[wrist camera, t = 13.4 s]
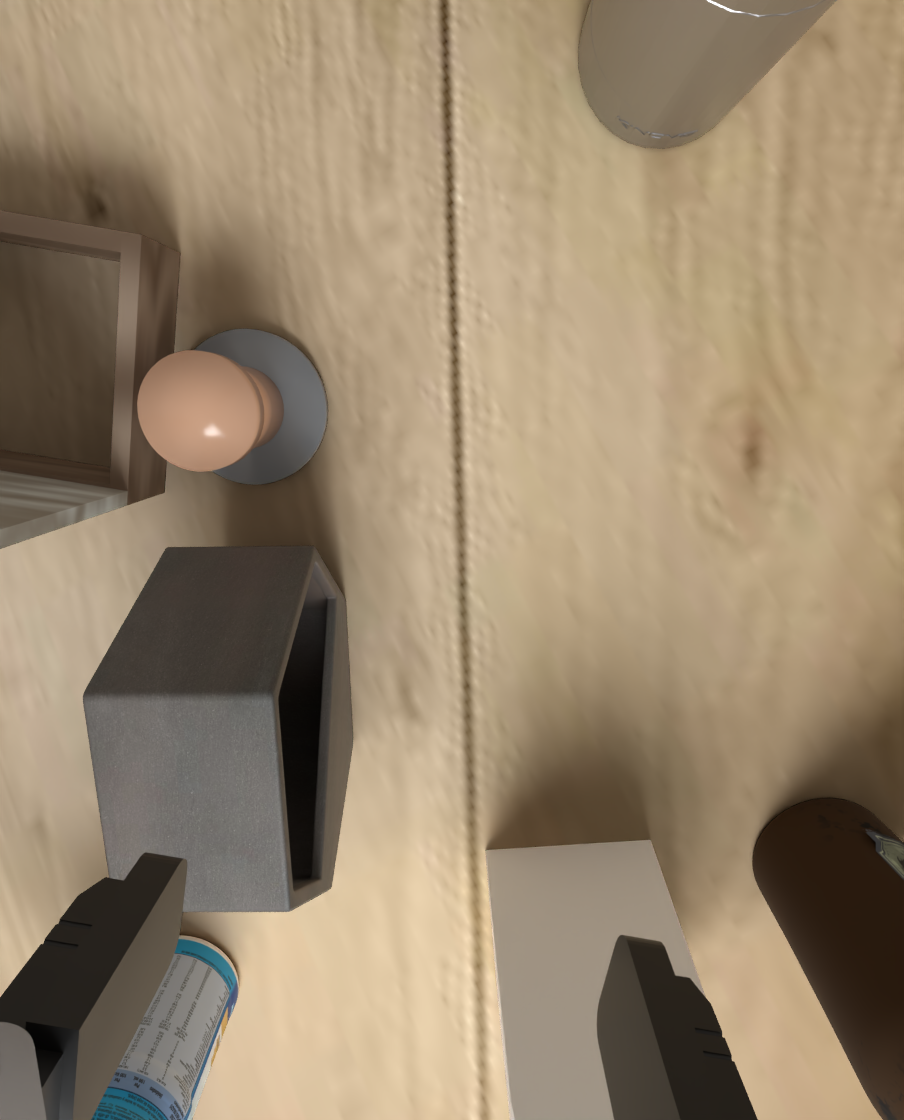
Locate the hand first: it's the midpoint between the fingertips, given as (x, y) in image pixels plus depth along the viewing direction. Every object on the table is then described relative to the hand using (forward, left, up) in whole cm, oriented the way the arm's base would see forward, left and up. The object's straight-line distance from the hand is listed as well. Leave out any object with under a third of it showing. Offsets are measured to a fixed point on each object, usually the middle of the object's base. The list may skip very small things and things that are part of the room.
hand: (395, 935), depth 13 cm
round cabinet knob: (-7, -13, -32) cm, 35 cm away
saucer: (-7, -13, -32) cm, 35 cm away
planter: (+9, -9, -33) cm, 35 cm away
